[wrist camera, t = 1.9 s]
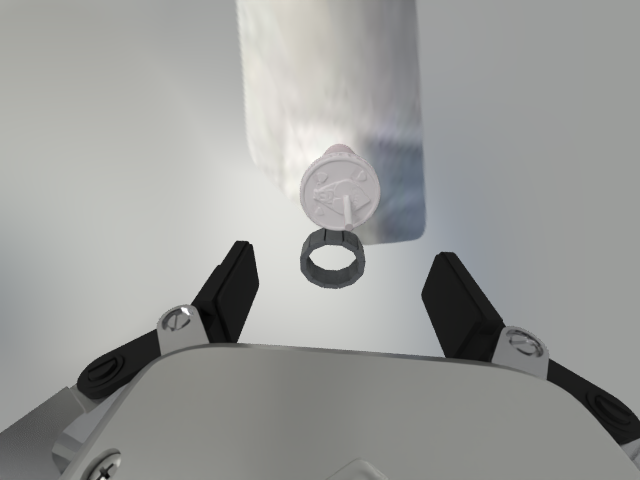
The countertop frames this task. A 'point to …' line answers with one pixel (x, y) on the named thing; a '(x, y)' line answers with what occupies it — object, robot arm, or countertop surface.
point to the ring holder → (332, 276)
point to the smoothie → (340, 190)
